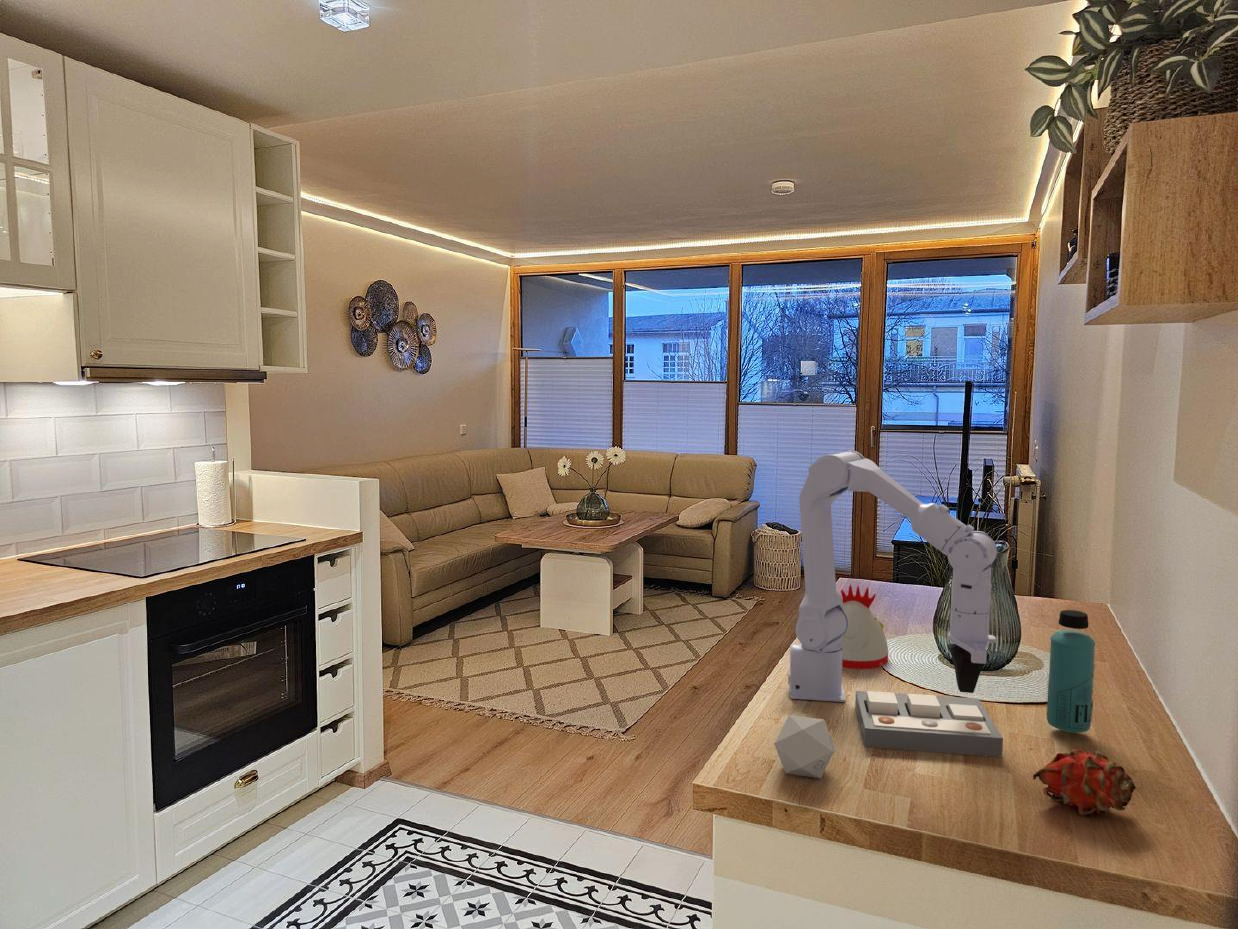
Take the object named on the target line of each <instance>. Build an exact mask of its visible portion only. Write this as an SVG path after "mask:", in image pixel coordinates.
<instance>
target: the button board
mask: <svg viewBox="0 0 1238 929" xmlns="http://www.w3.org/2000/svg"><path fill="white" fill-rule="evenodd" d="M893 693H894V694H895V697H896V699H897V702H898V715H890V714H875V713H869V711H868V707H867V703H866V694H867V690H866V691H863V690H855V704H854V707H855V712H856V716H857V720H858V725H859V730H860V733H861V738H862V741H863V744H864V745H863V746H864V747H865V748H878V749H889V750H890V749H891V750H892V749H893V750H903V751H917V752H932V753H945V754H954V755H956V754H958V755H968V754H969V755H972V756H981V755H983V756H985V755H987V756H985V757H994V756H1002V757H1003V745H1004V737H1003V736H1002V734H1001V732H1000V731H999V729H998V727H997V726H996V725H995V722H994V720H992V718H991V716H990V715H989V713H988V712H987V710H986V707H984V705H983V704H982V702H981V700H980V699H979V698H975V697H958V696H956V697H955V696H942V695H941V696H940V695H935V696H936V698H937V700H938V702H939V704H940V706H941V707H940V718H934V717H919V716H911V714H910V712H909V709H908V707H907V694H908V693H897V692H893ZM948 704H958V705H974V706H977V707H978V709H979V710H980V712H981V714H982V715H983V721H977V720H963V719H952V718H951V716H950V714H949V712H948Z"/></svg>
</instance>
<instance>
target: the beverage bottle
mask: <svg viewBox="0 0 1238 929" xmlns="http://www.w3.org/2000/svg"><path fill="white" fill-rule="evenodd" d="M1058 625H1059V626H1062V627H1064V629H1059V630H1058V631H1056V632H1054V633H1053V634H1052V635H1050V637H1049V638H1050V646H1049V647H1050V648H1049V649H1050V652H1049V653H1050V654H1049V671H1048V672H1049V673H1048V679H1047V687H1046V689H1047V692H1046V694H1047V700H1046V702H1045V703H1046V704H1045V705H1046V707H1045V708H1046V709H1045V713H1046V716H1045V717H1046V720H1047V723H1048V725H1050V726H1051V727H1053V728H1055V729H1057V730H1060V731H1064V732H1069V733H1076V734H1077V733H1087V732H1088V731H1089V730H1090V728H1091V726H1092V724H1093V722H1092V721H1093V718H1092V715H1093V707H1094V703H1093V702H1094V700H1093V696H1094V695H1093V692H1094V690H1093V687H1094V684H1093V683H1094V677H1095V670H1096V669H1095V668H1096V667H1095V666H1096V665H1095V648H1096V647H1095V646H1096V641H1095V640H1094V639H1093V638H1092V637H1091V636H1090V634H1088V633H1087V632H1084V631H1081V630H1086V629H1088V628H1089V616H1088V613H1086V612H1083V611H1080V610H1076V609H1064V610H1061V611H1060V612H1059V618H1058ZM1065 628H1067V629H1065Z"/></svg>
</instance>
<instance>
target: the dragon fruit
mask: <svg viewBox="0 0 1238 929" xmlns="http://www.w3.org/2000/svg"><path fill="white" fill-rule="evenodd" d="M1093 753H1094V754H1095V755H1094V754H1093ZM1093 753H1092V752H1090V751H1087V752H1085V751H1083V750H1082V749H1079V748H1078V749H1076V748H1075V749H1071V750H1070V751H1069V753H1068V752H1058V753H1056V755H1055V757H1054V758H1053V759H1052V760H1051V761H1050V762H1048V763H1047V764H1046V765H1045V766H1043V768H1040V769H1039V770H1038V771H1036V772H1035V773H1034V774H1032V778H1033V781H1035V780H1036V782H1037V778H1038V780H1039V781H1040V782H1041V784H1043V785H1046V786H1047V787H1044V788H1042V792H1043V794H1044V795H1045V796H1046V797H1048V798H1050V799H1051V800H1052V801H1055V802H1061V803H1062V804H1063V805H1066V806H1072V807H1073V806H1074V807H1075V806H1076V807H1078V813H1079V814H1080V816H1083V817H1084V816H1085V815H1090V814H1094V812H1096V813H1097V814H1098V815H1106V813H1107V812H1108V811H1109V810H1110V808H1112V809H1115V810H1116V811H1117V810H1118V811H1125V809H1126V807H1127V805H1128V804H1129V803H1130V802H1131V800H1132V797H1133V793H1134V791H1136V789H1137V787H1136V785H1135V784H1134V779H1133V778H1132V777H1131V776H1130V775H1129V774H1128V773H1126V771H1125V768H1124V766H1122V765H1120V764H1117V763H1116V762H1115V761H1109V758H1108V757H1107V756H1106V755H1104V754H1103V753H1101V752H1100V751H1095V750H1094V751H1093ZM1037 783H1038V782H1037ZM1037 783H1036V784H1037Z"/></svg>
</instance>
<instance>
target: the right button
mask: <svg viewBox="0 0 1238 929" xmlns="http://www.w3.org/2000/svg"><path fill="white" fill-rule="evenodd" d="M948 712H949V714H950V716H951V718H952V719H963V720H977V721H983V715H982V714H981V712H980V710H979V709H978V707H977V706H974V705H958V704H948Z"/></svg>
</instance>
